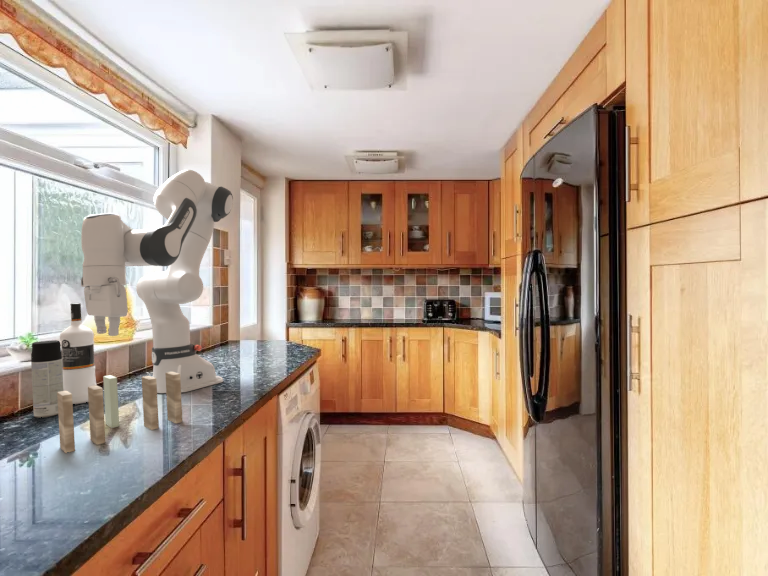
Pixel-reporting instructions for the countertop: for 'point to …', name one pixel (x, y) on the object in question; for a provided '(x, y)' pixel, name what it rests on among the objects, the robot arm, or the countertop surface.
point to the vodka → (77, 357)
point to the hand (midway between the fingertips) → (107, 334)
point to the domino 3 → (111, 401)
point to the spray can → (46, 377)
